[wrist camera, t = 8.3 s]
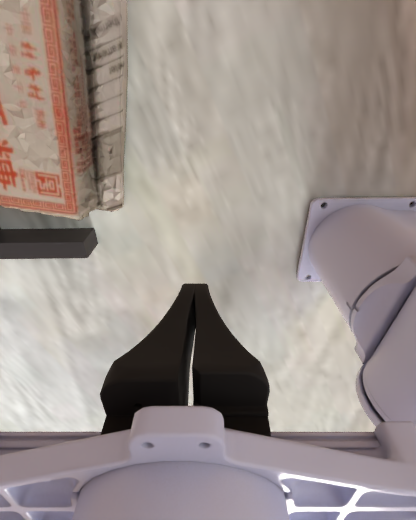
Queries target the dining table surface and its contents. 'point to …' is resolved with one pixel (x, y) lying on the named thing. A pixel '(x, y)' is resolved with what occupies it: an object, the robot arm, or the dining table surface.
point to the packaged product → (63, 105)
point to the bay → (47, 243)
